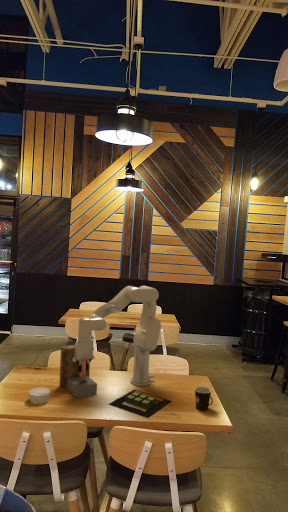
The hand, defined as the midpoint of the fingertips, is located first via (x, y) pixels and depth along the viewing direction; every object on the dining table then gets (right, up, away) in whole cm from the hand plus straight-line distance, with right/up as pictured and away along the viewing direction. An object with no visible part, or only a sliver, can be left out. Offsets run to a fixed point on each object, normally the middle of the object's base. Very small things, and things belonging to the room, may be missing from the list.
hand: (82, 370), depth 214 cm
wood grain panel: (-6, -12, +9) cm, 16 cm away
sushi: (+33, -15, -10) cm, 38 cm away
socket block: (-1, -12, +1) cm, 12 cm away
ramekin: (-21, -12, -13) cm, 28 cm away
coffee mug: (+66, -16, -14) cm, 70 cm away
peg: (0, -4, 0) cm, 4 cm away
